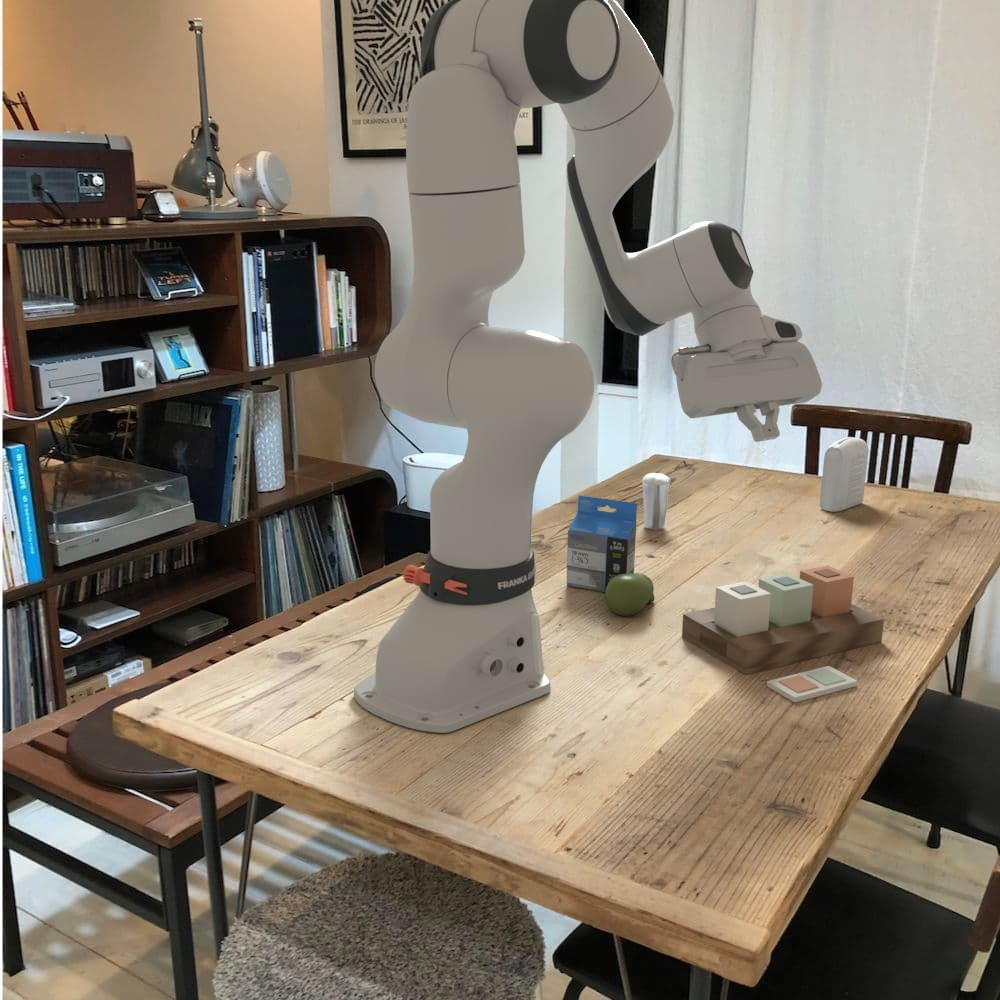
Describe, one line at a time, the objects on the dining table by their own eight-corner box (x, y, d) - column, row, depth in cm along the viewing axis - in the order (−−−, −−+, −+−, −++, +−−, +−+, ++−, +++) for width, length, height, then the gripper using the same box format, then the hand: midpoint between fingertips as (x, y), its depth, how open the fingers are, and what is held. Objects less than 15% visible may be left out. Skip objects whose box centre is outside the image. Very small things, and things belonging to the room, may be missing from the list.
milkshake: (664, 534, 166) (667, 474, 164) (635, 528, 169) (637, 469, 167) (677, 527, 170) (680, 468, 167) (648, 521, 173) (651, 464, 170)
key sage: (781, 627, 122) (784, 589, 121) (756, 614, 126) (759, 577, 125) (810, 621, 124) (813, 583, 123) (784, 608, 128) (787, 572, 127)
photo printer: (844, 498, 187) (850, 431, 184) (866, 503, 184) (873, 435, 181) (815, 509, 180) (821, 440, 177) (838, 514, 177) (844, 444, 174)
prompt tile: (794, 702, 110) (794, 696, 110) (766, 686, 114) (767, 680, 113) (856, 685, 114) (857, 679, 114) (828, 670, 118) (828, 664, 117)
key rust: (822, 618, 125) (826, 581, 124) (797, 605, 129) (800, 569, 128) (850, 612, 127) (854, 575, 126) (824, 600, 131) (827, 564, 130)
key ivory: (737, 637, 120) (740, 598, 118) (713, 623, 123) (716, 586, 122) (768, 630, 122) (771, 592, 120) (743, 617, 125) (746, 580, 124)
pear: (600, 574, 132) (626, 564, 141) (597, 615, 132) (622, 602, 141) (642, 581, 129) (665, 570, 138) (638, 622, 130) (661, 608, 139)
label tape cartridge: (564, 586, 143) (566, 501, 140) (574, 578, 147) (577, 494, 143) (625, 597, 140) (629, 510, 136) (634, 587, 143) (638, 502, 140)
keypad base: (745, 674, 116) (747, 650, 116) (681, 636, 127) (683, 613, 126) (881, 641, 125) (884, 618, 125) (812, 608, 136) (814, 587, 135)
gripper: (679, 338, 128) (713, 440, 125) (809, 324, 136) (844, 420, 133) (656, 360, 134) (687, 458, 130) (782, 345, 142) (815, 438, 138)
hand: (767, 439), depth 132 cm, fingers closed
